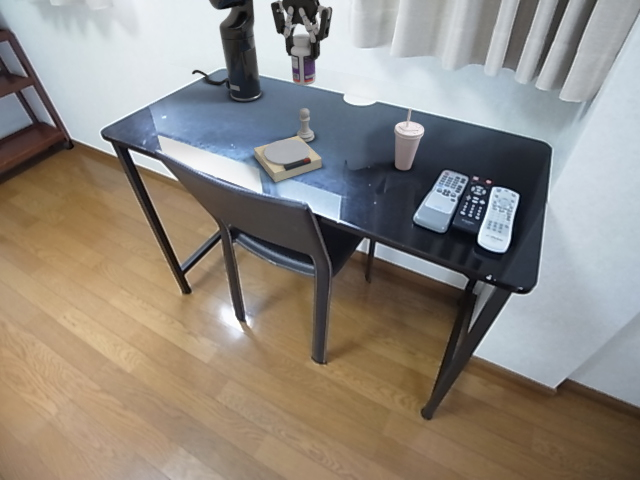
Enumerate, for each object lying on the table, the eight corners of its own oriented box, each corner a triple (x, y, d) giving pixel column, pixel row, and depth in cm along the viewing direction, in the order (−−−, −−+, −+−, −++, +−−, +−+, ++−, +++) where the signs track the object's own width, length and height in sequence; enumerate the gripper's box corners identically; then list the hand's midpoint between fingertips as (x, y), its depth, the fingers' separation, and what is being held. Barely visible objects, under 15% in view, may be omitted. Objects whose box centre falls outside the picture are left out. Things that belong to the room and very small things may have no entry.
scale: (254, 157, 91) (253, 144, 89) (298, 144, 95) (297, 132, 93) (275, 183, 83) (274, 170, 81) (322, 167, 88) (322, 155, 85)
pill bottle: (316, 77, 90) (315, 32, 83) (314, 86, 86) (313, 40, 79) (294, 76, 90) (291, 32, 83) (291, 85, 86) (288, 40, 80)
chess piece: (294, 135, 98) (292, 105, 93) (311, 132, 99) (310, 103, 94) (299, 143, 95) (297, 114, 90) (316, 140, 96) (316, 111, 91)
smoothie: (393, 156, 91) (401, 100, 81) (419, 161, 89) (431, 105, 79) (386, 170, 87) (394, 113, 77) (413, 176, 85) (425, 118, 75)
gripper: (257, -34, 73) (267, 57, 85) (322, -29, 68) (323, 68, 79) (278, -40, 77) (285, 47, 89) (340, -36, 72) (338, 57, 84)
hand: (303, 56), depth 84 cm, fingers closed on pill bottle, 5 cm apart
